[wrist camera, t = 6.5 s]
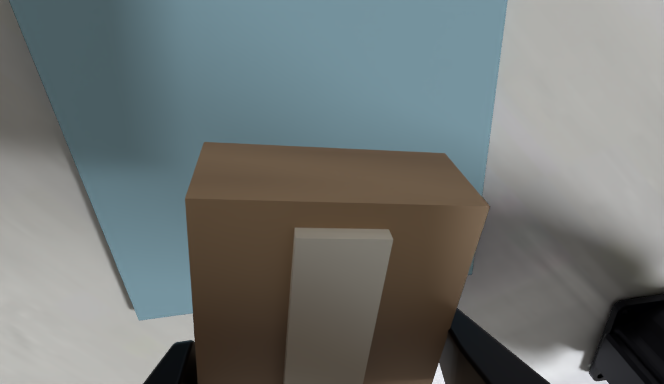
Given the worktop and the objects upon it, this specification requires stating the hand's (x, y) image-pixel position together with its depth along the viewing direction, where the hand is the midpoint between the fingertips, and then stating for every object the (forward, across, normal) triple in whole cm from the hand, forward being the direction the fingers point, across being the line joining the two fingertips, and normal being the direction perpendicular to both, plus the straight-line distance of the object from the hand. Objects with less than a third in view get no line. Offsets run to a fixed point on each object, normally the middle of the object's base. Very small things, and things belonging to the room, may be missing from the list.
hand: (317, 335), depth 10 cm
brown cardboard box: (+1, 0, 0) cm, 1 cm away
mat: (+9, 0, 0) cm, 9 cm away
